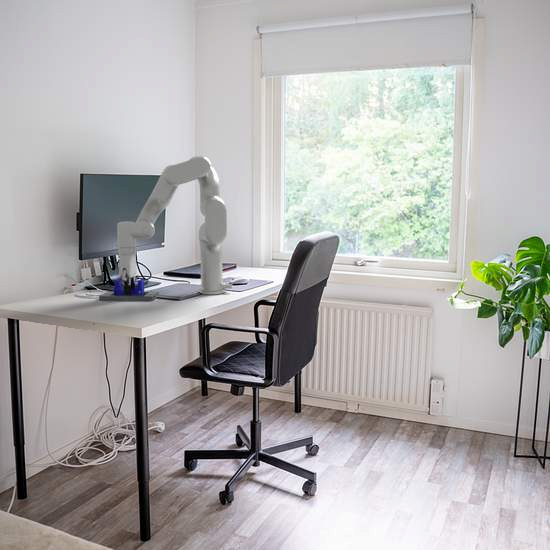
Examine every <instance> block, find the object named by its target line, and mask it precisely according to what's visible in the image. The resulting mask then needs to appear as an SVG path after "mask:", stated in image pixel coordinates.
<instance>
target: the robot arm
mask: <svg viewBox="0 0 550 550" xmlns="http://www.w3.org/2000/svg"><path fill="white" fill-rule="evenodd" d="M195 180H197V181H198V184H199V197H200V198H199V208H200V209H199V210H200V213H201V215H202V216H203V217H204V222H203V223H202V224H201V225H200V226H199V230H198V240H199V249H200V250H199V251H200V252H199V253H200V282H201V283H200V285H201V288H199V289H198V290H197V293H198V292H200V293H202V294H201V295H209V296H211V295H222V294H225V293H227V289H228V290H230V289H233V284H231V283H225V280H224V281H223V278H224V277H223V248H222V247H223V246H222V244H223V242H225V240H226V238H227V235H228V230H227V229H228V223H227V221H228V216H227V215H228V214H227V205H226V203H225V202H224V200H223V199H221V196H220V195H221V192H220V182H219V181H220V180H219V176H218V174H217V173H216V170H215V168H213V166H212V163H211V161H210V160H209V158H207V157H206V156H202V155H199V156H197V155H196V156H193V157H191V158H190V159H188V160H186V161H183V162H180V163H176V164H170V165H167V166H165V168H164V169H163V170H162V172H161V174H160V177H159V178H158V180H157V182H156V184H155V186H154V188H153V190H152V192H151V193H150V196H149V197H148V199H147V200H146V203H145V204H144V206H143V208H142V209H141V211H140V213H139V215H138V216H137V219H136V221H120V222H117V225H116V227H117V229H116V230H117V231H116V232H117V248H118V256H119V259H118V277H119V279H121V281H122V285H123V286H124V295H131V294H132V290H134V289H135V288H136V276H137V271H138V269H137V268H138V267H137V260H136V259H137V258H136V255H137V254H138V253H137V252H138V251H137V239H144V240H147V239H150V238H152V237H153V236H154V235H155V231H156V229H155V224H156V221H157V219H158V218H159V217H160V214H161V213H162V212H163V211H164V210H165V209H166V208H168V206H169V205H170V203H171V201H172V199H173V197H174V195H175V193H176V191H177V190H178V188H179V186H181V185H183V184H187V183H189V182H192V181H195ZM200 293H199V294H200Z"/></svg>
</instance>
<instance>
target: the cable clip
mask: <svg viewBox="0 0 550 550" xmlns="http://www.w3.org/2000/svg"><path fill="white" fill-rule="evenodd" d="M113 292H114V295H124V286H123V282H122V278H119V279H115V280H114V287H113ZM144 292H145V279H139V280H137V286H135V289H134V290H132V294H131V295H143V294H145V293H144Z"/></svg>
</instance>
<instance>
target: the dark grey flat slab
mask: <svg viewBox="0 0 550 550" xmlns="http://www.w3.org/2000/svg"><path fill="white" fill-rule="evenodd" d="M144 293H145V294H143V295H114V291H106V292H103V293H102V294H100V295H99V296H98V299H99V300H98V301H102V302H103V301H105V302H107V301H108V302H109V301H111V302H112V301H113V302H154V301H155V300H156V299H157V295H158V294H159V295H160V291H144Z"/></svg>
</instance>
